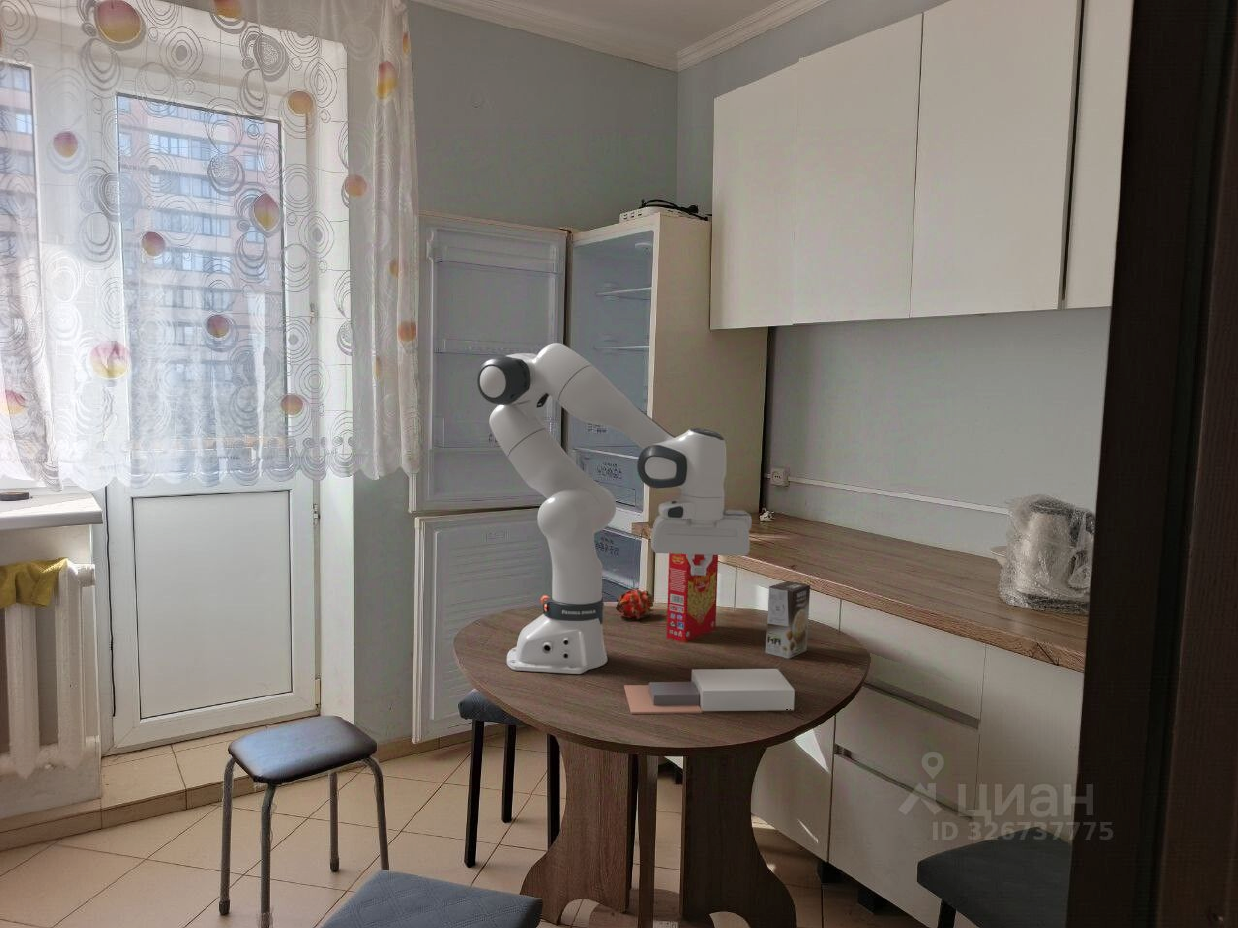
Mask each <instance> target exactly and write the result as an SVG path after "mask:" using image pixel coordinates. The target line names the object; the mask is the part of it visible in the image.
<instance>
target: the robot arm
mask: <svg viewBox="0 0 1238 928" xmlns="http://www.w3.org/2000/svg"><path fill="white" fill-rule="evenodd" d="M476 376H477V377H476V384H477V389H478V391H479V393H480V395H481V396H482V397H483V399H485V400H486V401H487V402H488V403H491V404H495V405H497V406H496V407H495V408H494V409H493V410H492V412H491V413H490V416H489V421H488V422H489V426H490V430H491V432H492V434H493V436H494V438H495V440H496V441H497V443H498V445H499V447H500V448H501V449H502V450H501V451H502V452H503V453H504V455H505V456H506V457H507V459H508V460H509V462H510V464H512V466H513V467H514V468H515V470H516V472H518V474H519V475H520V476H521V478H522V479H523V481H524V482H525V483H526V485H527V486H528V487H529V488H531V489H533V490H535V491H536V492H538V493H540V494H541V495H542V496H544V497H545V498H546V500H545V501H543V502H542V504H541V505H540V506H539V509H538V511H537V518H536V519H537V526H538V528H539V529H540V531H541V533H542V535H544V537H545V538H546V540H547V544H548V548H549V552H550V558H551V559H550V560H551V568H552V570H551V571H552V572H551V573H552V579H551V582H552V584H551V585H552V587H551V590H552V595H551V596H550V597H549V596H548V595H542V597H541V598H540V603H541V605H542V614H541V615H540V616H538V617H537V618H536V619H534V620H533V621H531V622H530V623H528V624H527V625H526V626H525V627H523V629H522V630H521V631H520V633H519V636H518V639H517V643H516V646H514V647H513V648H511V649H509V651H507V655H506V665H507V666H508V667H509V668H510V669H511V670H513V671H520V672H521V671H523V672H540V673H555V674H572V675H573V674H574V675H581V674H583V673H586V672H587V671H588V670H593V669H596V668H599V667H601V666H604V665H605V664H607V662H608V656H607V651H606V648H605V642H604V641H605V640H604V633H603V622H604V617H605V615H604V614H605V604H604V598H603V595H602V593H603V563H602V561H601V559H600V558H599V556H598V554H597V549H596V545H595V544H596V543H595V533H598V532H600V531H602V530H604V529H605V528H606V527H607V526H608V525H610V523H611V522H612V521H613V519H614V517H615V515H616V513H617V501H616V499H615V497H614V494H613V493H612V492H611V491H610V490H609V489H607V488H605V487H604V486H601V485H600V484H599V483H597V482H596V481H595V480H594V478H592V477H591V476H590V475H589V474H588V473H587V472H586V471H585V470H584V469H582V468H581V467H580V466H579V465H578V464H577V463H576V462H575V461H574V460H573V459H571V457H570V456H569V454H567V453H566V452H565V450H564V449H563V448H562V446H561V445H560V444H559V442H558V441H557V440H556V438H555V437H554V436H553V434H552V433H551V431H550V430H549V429H548V428H547V427H546V425H545V424H544V422H543V421H542V420H541V419H540V416H539V415H538V413H537V408H542V407H544V405H545V404H546V403H547V400H548V398H549V397H551V398H552V399H553V400H554V401H556V403H557V404H559V406H560V407H562V408H563V409H564V410H565V411H566V412H568V414H570V415H571V416H572V417H574V418H576V419H577V420H580V421H581V422H583V423H587V424H591V425H597V426H602V427H607V428H611V429H614V430H616V431H618V432H621V433H623V435H626V437H628V438H629V439H630V440H631V441H632V442H634V443H635V444H636V445H638V446H639V447H640V448H641V450H642V451H641V452H640V454H639V456H638V458H637V463H636V470H637V474H638V476H639V479H640V480H641V481H642V482H643V483H644V485H646V486H647V487H649V488H651V489H655V490H665V489H666V490H667V489H670V488H671V489H672V488H678V489H680V492H681V494H680V498H676V499H671V500H669V501H666V502H662V503H660V504H659V505H658V514H659V515H658V516H657V517H656V518H655V519H654V522H653V525H652V528H651V529H652V530H651V535H650V549H651V550H652V551H653V553H655V554H669V553H673V554H686V558H687V559H688V561H689V563H690V565H691V575H692V576H706V568H707V567H708V566H709V564H710V563H711V561H712V556H713V555H718V556H737V557H738V556H739V557H742V556H743V557H745V556H747V555H748V554H749V553H750V547H751V546H750V545H751V541H750V540H751V539H750V531H751V529H752V524H753V523H752V522H753V519H752V516H751V514H750V513H748V512H746V511H745V510H743V509H739V510H735V509H725V497H726V496H725V494H726V493H725V489H724V483H725V479H726V476H727V446H726V441H725V438H724V437H723V435H721V434H720V433H718V432H716V431H713V430H710V429H705V428H697V427H692V428H689V429H688V430H686V431H685V432H684V433H682V434H680V435H678V436H676V435H674V434H671V433H670V432H668V430H666V429H665V428H663V427H662V426H661V425H660V424H659V423H657V422H656V421H655V420H654V419H653V418H651V417H650V416H649V415H648V414H646V413H645V412H644V411H643V410H642V409H640V408H639V407H638V406H636V405H635V404H634V403H632V402H631V400H630V399H629V398H628V397H627V396H626V395H624V394H623V393H622V392H621V391H620V390H619V389H618V388H617V387H616V386H615V385H614V384H613V382H611V381H610V380H609V379H608V378H607V377H606V376H605V375H604V374H603V373H602V372H601V371H600V370H599V369H597V368H596V366H594V365H593V364H592V363H591V362H589V361H588V360H587V359H586V358H584V356H581V354H580V353H578V352H577V351H575V350H574V349H571V348H570V347H568V346H566V345H565V344H563V343H557V342H555V343H551V344H548V345H545V346H544V347H543V348H542V349H541V350H540V351H539V352H538V353H536V352H531V353H530V352H529V353H527V352H517V353H512V354H507V355H497V356H495V357H492V358H489V359H488V360H486V361H485V362H484V363H483V364H481V366H480V368H479V369H478V371H477V375H476ZM695 554H704V558H705V559H706V560H705V561H704V563H703V565H702V566H695V565H694V563H693V561H692V559H694V558H695Z"/></svg>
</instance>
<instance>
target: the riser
mask: <svg viewBox="0 0 1238 928" xmlns="http://www.w3.org/2000/svg"><path fill="white" fill-rule="evenodd" d="M690 682H693V683H694V685H695V687H696V689H697V691H698V692H699V694H700V699H699V705H700V707H701V709H702V712H738V711H739V712H745V711H746V712H748V711H749V712H750V711H753V712H754V711H757V712H758V711H794V710H795V696H796V695H795V694H796V693H795V692H796V690H795V689H794V687H793V686H792V685H791V684H790V683H789V681H788V679H786V677H785V675H783V674H782V672H780V670H779V669H778V668H739V669H738V668H727V669H726V668H724V669H723V668H720V669H719V668H718V669H715V668H714V669H713V668H712V669H709V668H708V669H706V668H705V669H704V668H702V669H701V668H699V669H691V681H690ZM786 709H788V710H786ZM790 709H791V710H790Z"/></svg>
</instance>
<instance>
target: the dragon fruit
mask: <svg viewBox="0 0 1238 928" xmlns="http://www.w3.org/2000/svg"><path fill="white" fill-rule="evenodd" d="M635 589H636V590H631V589H628V590H626V592H624V593H621V594H620V595H619V600H618V602H617V605H616V606H615V610H616V611H617V612H619V615H620V618H621V619H631V618H634V617H635V618H636V620H640V619H641V618H644V617H645V614H649V613H651V612H653V610H654V609H653V608H652V607H653V606H654V602H653V601H654V599H653V598H654V597H653V595H651V594H650V593H649V591H648V590H645V589H644V590H640V589H639V587H636V588H635ZM651 608H652V609H651Z"/></svg>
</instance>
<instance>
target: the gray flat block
mask: <svg viewBox="0 0 1238 928" xmlns="http://www.w3.org/2000/svg"><path fill="white" fill-rule="evenodd" d="M648 685H649V695H650V697H651V700H652V703H653V705H699V699H700V694H699V692H698V691H697V689H696V687H695V685H694V683H693V682H691V681H660V682H659V681H656V682H655V681H651V682H650V681H649V682H648Z"/></svg>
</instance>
